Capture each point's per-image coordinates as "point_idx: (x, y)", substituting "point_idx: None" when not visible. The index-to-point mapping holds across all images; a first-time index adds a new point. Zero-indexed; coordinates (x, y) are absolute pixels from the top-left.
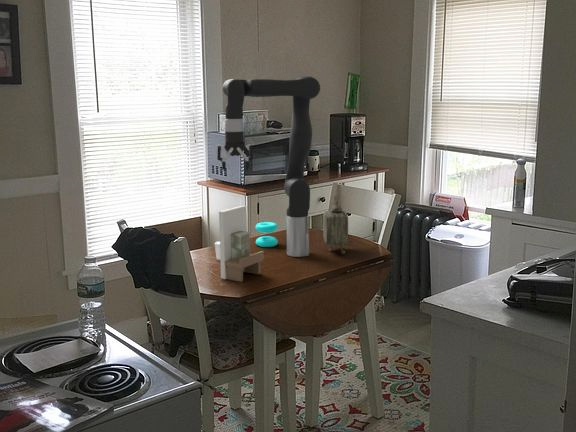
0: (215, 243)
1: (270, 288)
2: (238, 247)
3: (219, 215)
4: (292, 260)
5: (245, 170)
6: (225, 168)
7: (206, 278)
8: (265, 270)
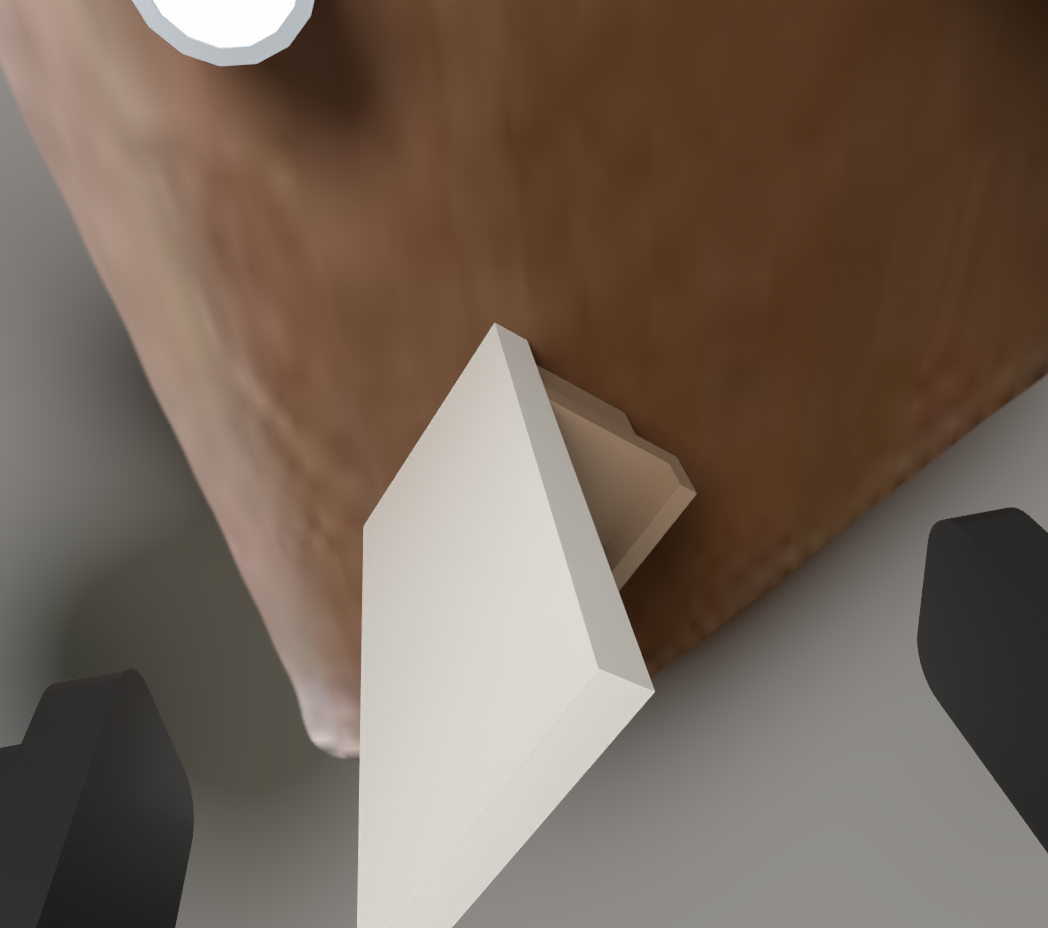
0: (142, 10)
1: (680, 655)
2: None
3: (362, 923)
4: (902, 34)
5: (921, 658)
6: (168, 899)
7: (262, 530)
8: (660, 335)
